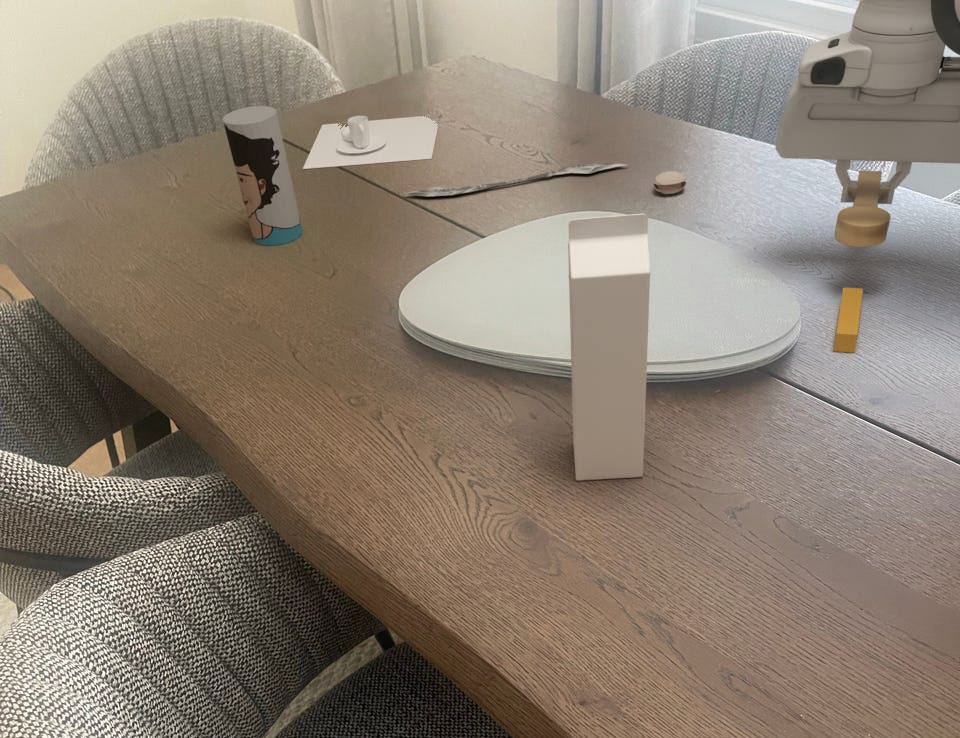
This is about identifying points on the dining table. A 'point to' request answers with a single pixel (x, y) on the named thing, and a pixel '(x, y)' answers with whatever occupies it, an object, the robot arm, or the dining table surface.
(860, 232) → the spoon
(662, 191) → the macaroon
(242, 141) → the white tall cylinder
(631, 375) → the milk
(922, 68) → the robot arm
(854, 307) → the fry
